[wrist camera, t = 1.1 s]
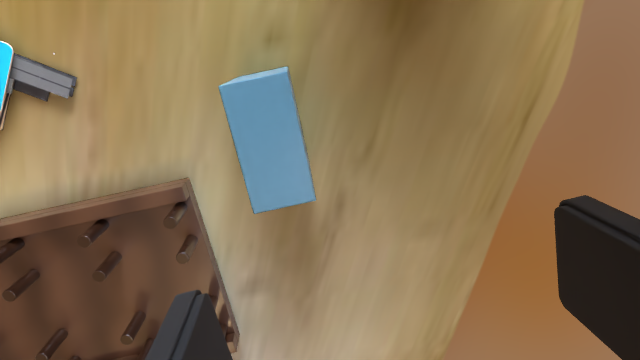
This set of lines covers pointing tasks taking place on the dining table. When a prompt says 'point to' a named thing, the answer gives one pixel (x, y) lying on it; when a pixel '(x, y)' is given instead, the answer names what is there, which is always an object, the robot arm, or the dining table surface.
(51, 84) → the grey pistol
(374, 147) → the dining table surface
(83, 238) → the rack
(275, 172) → the carton
